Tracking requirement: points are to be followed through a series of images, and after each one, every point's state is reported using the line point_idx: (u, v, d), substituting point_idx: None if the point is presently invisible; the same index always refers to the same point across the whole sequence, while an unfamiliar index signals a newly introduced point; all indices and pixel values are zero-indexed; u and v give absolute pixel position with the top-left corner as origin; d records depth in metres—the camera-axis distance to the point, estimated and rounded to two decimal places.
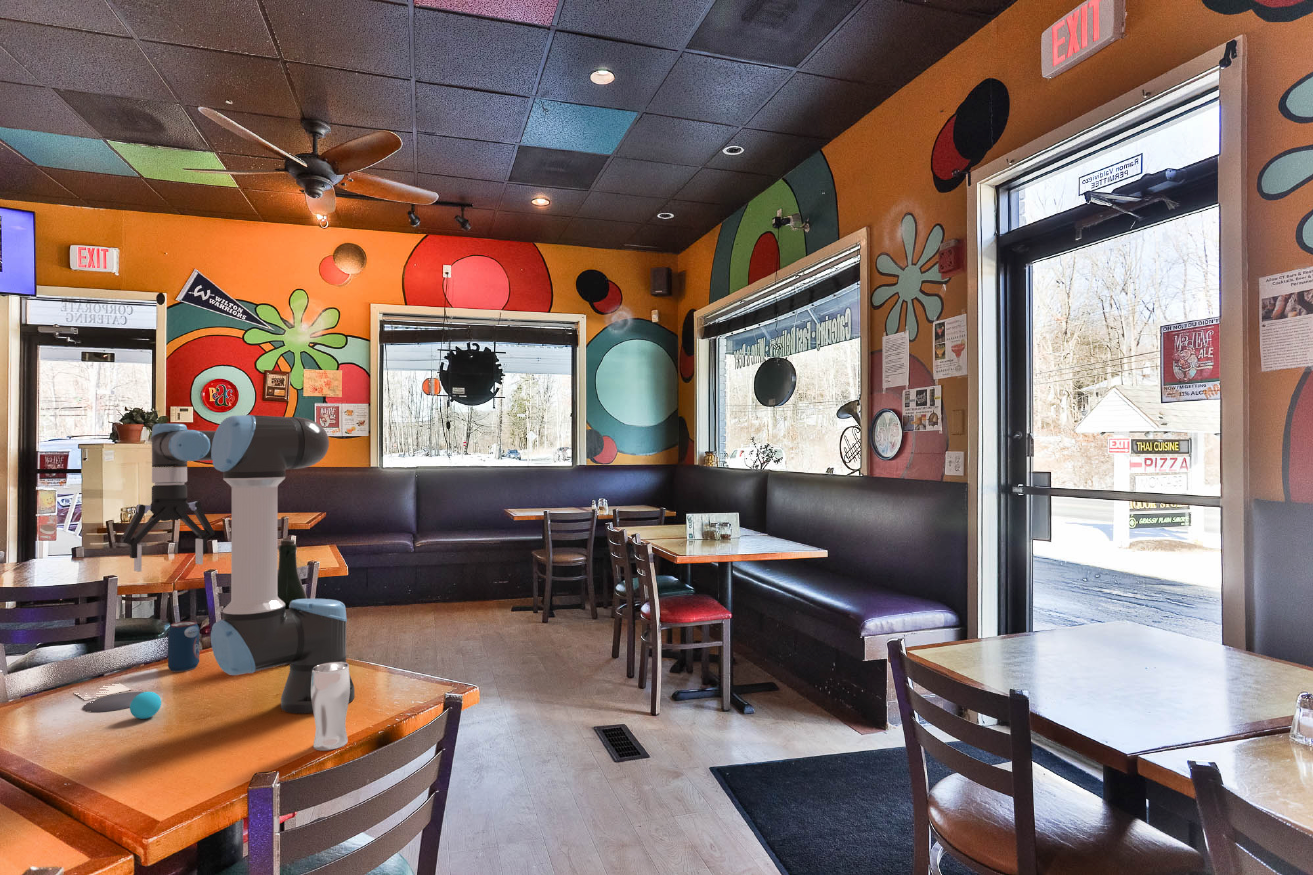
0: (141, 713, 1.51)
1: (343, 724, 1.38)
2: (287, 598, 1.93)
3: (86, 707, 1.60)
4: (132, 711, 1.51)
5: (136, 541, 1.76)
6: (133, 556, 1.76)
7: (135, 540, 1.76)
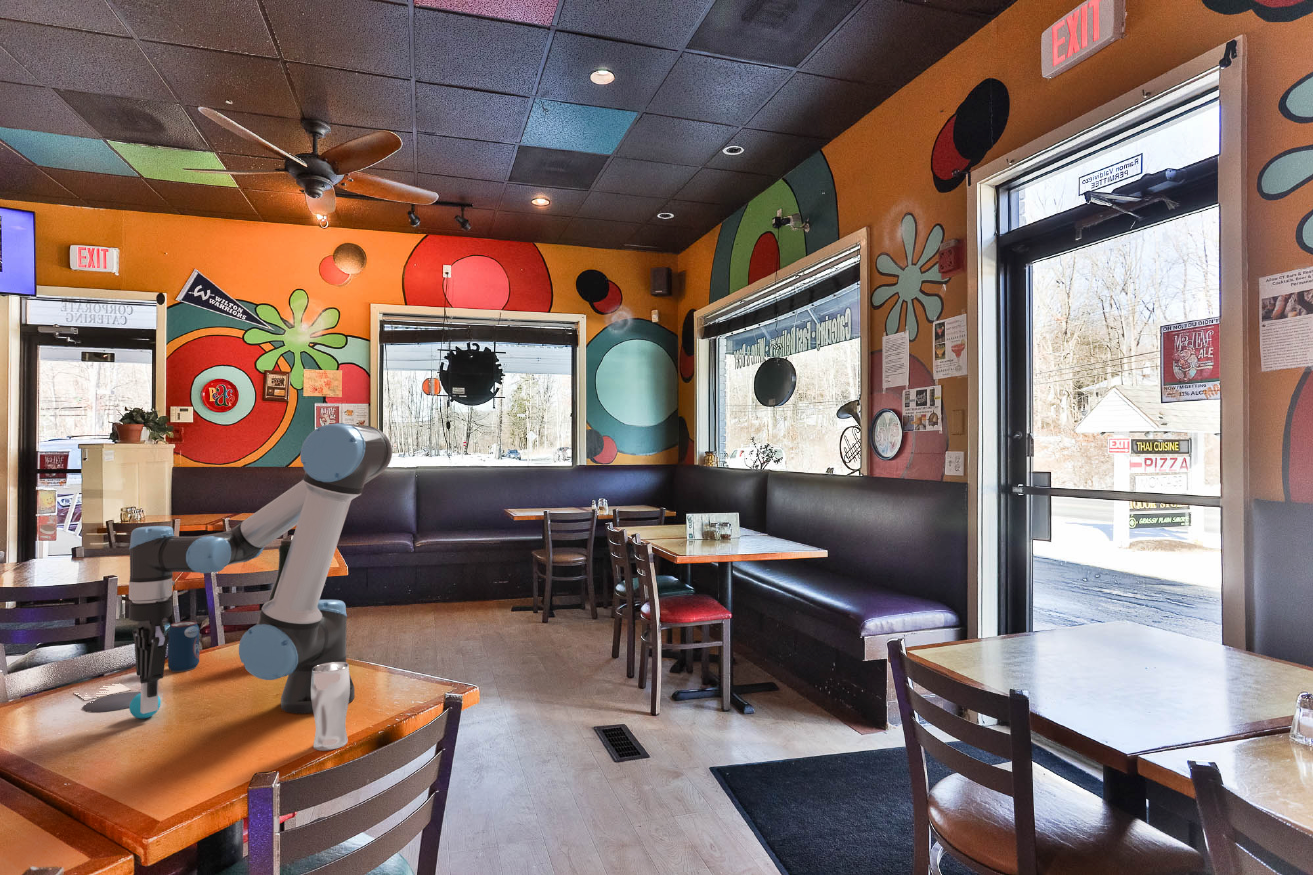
0: (141, 713, 1.52)
1: (343, 724, 1.38)
2: None
3: (86, 707, 1.60)
4: (131, 711, 1.52)
5: (140, 675, 1.52)
6: None
7: (140, 675, 1.52)
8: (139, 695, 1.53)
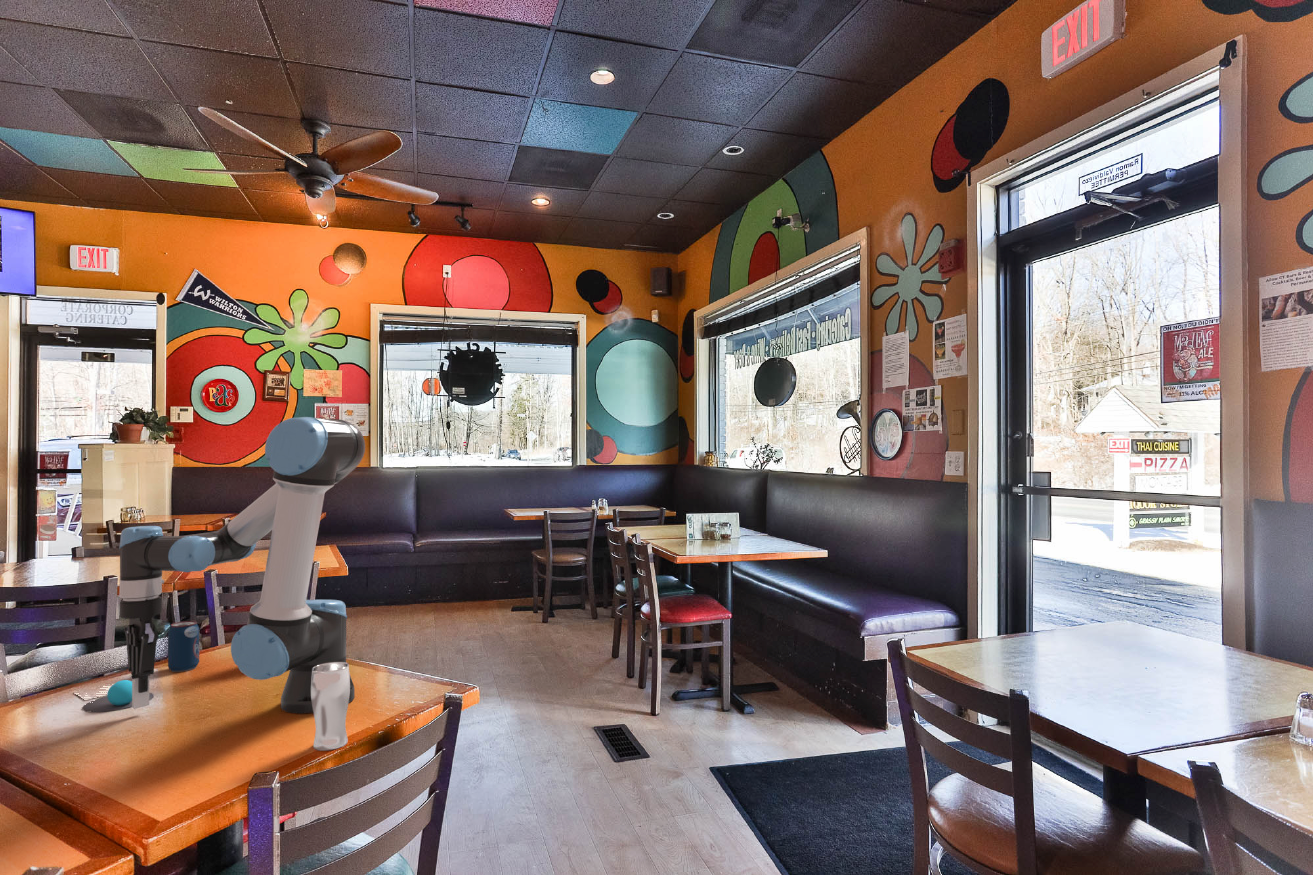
0: None
1: (343, 724, 1.38)
2: None
3: (86, 707, 1.60)
4: (108, 698, 1.60)
5: (132, 671, 1.56)
6: None
7: (131, 671, 1.56)
8: (119, 696, 1.60)
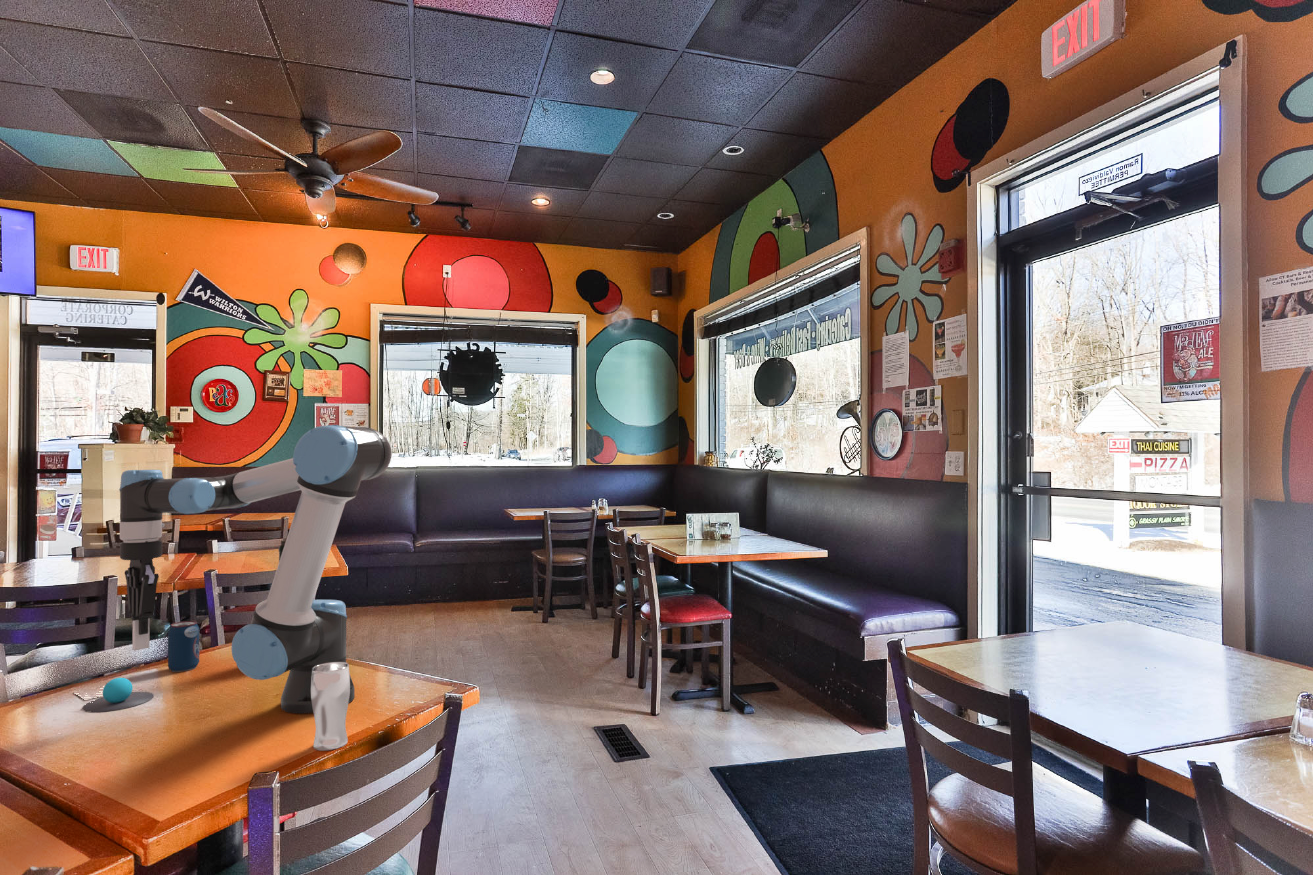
0: (112, 700, 1.62)
1: (343, 724, 1.38)
2: None
3: (86, 707, 1.60)
4: (104, 696, 1.62)
5: (132, 614, 1.56)
6: None
7: (132, 613, 1.56)
8: (113, 682, 1.62)
